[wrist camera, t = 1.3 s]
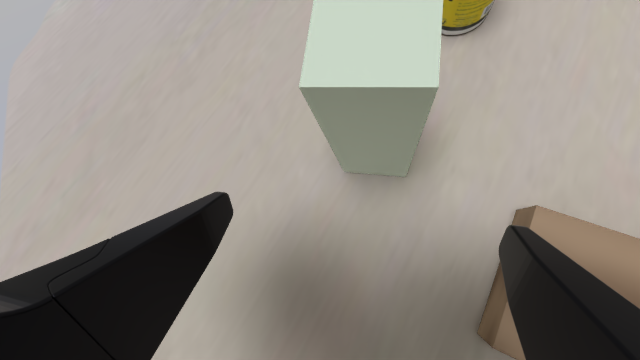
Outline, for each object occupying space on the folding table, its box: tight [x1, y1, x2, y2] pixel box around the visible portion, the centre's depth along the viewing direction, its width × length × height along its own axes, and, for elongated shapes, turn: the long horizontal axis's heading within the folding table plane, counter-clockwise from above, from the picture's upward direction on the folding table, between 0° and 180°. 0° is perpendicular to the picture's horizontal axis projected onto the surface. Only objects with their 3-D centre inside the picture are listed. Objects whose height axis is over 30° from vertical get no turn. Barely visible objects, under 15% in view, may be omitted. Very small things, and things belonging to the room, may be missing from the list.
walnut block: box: [478, 205, 640, 360], centre depth 16 cm, size 9×9×3 cm
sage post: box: [299, 0, 443, 177], centre depth 16 cm, size 5×5×13 cm
